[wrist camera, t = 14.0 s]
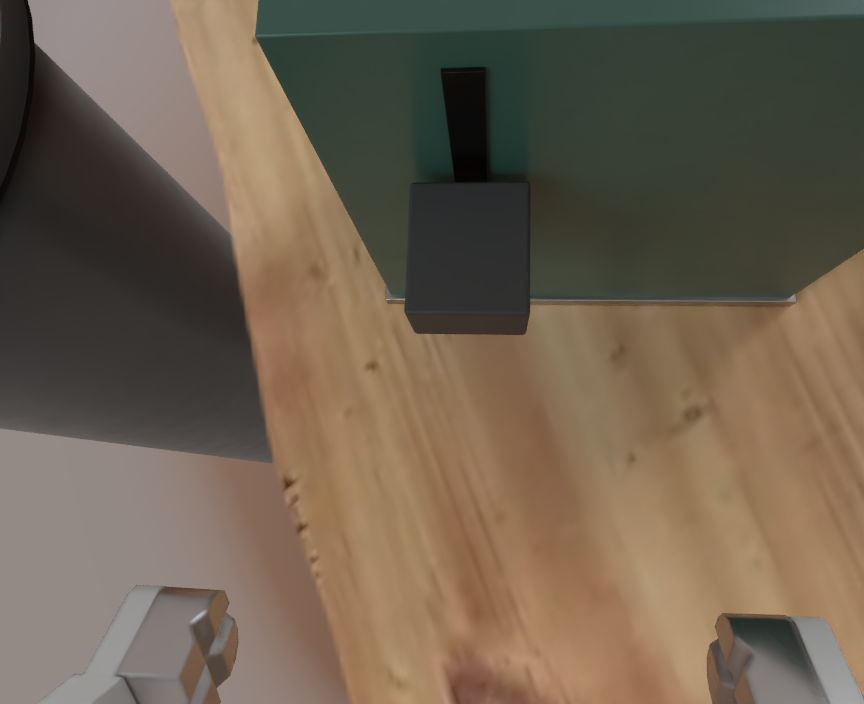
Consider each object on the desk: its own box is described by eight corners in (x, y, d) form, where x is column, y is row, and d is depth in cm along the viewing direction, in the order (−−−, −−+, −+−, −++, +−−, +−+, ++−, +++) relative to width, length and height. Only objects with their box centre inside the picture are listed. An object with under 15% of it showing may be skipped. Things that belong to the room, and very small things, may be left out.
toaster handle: (526, 335, 17) (530, 315, 15) (414, 334, 17) (403, 313, 15) (526, 214, 17) (531, 179, 15) (418, 215, 18) (409, 181, 16)
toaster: (790, 307, 26) (1260, 12, 10) (387, 303, 27) (239, 43, 11) (775, 105, 27) (1155, -421, 12) (396, 112, 29) (278, -345, 13)
